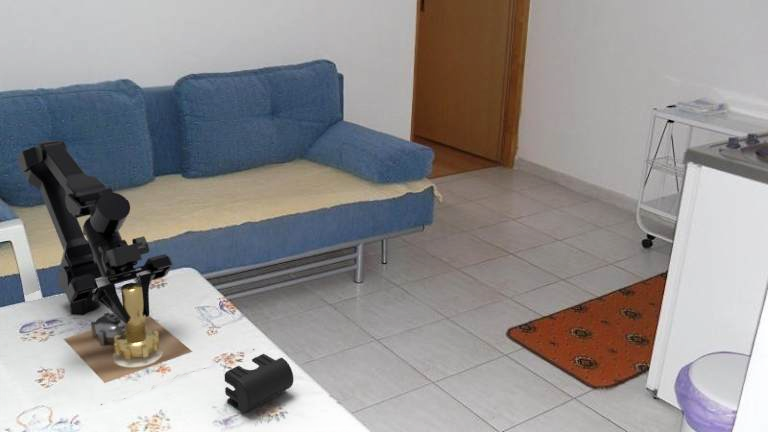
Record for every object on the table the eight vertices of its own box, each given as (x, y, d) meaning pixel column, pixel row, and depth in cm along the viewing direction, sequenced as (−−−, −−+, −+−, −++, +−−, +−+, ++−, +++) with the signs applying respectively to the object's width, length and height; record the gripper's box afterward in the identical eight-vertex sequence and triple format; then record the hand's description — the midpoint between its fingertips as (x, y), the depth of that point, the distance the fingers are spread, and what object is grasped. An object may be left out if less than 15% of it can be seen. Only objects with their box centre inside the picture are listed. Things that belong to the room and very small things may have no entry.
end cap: (249, 421, 128) (248, 386, 125) (223, 404, 132) (221, 370, 130) (294, 396, 135) (294, 363, 133) (268, 381, 139) (267, 348, 137)
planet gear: (125, 334, 147) (119, 275, 142) (166, 338, 146) (162, 279, 142) (106, 356, 139) (99, 295, 135) (149, 361, 138) (144, 299, 134)
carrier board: (64, 345, 148) (63, 337, 148) (146, 319, 159) (146, 311, 158) (105, 390, 135) (104, 381, 134) (192, 358, 146) (192, 350, 145)
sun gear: (87, 332, 150) (85, 313, 149) (127, 320, 155) (125, 302, 154) (105, 351, 144) (103, 331, 143) (146, 337, 149) (144, 318, 148)
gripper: (64, 237, 131) (96, 318, 127) (165, 214, 143) (197, 288, 139) (53, 263, 139) (83, 341, 136) (149, 239, 151) (179, 310, 147)
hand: (137, 319), depth 139 cm, fingers closed on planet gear, 4 cm apart
